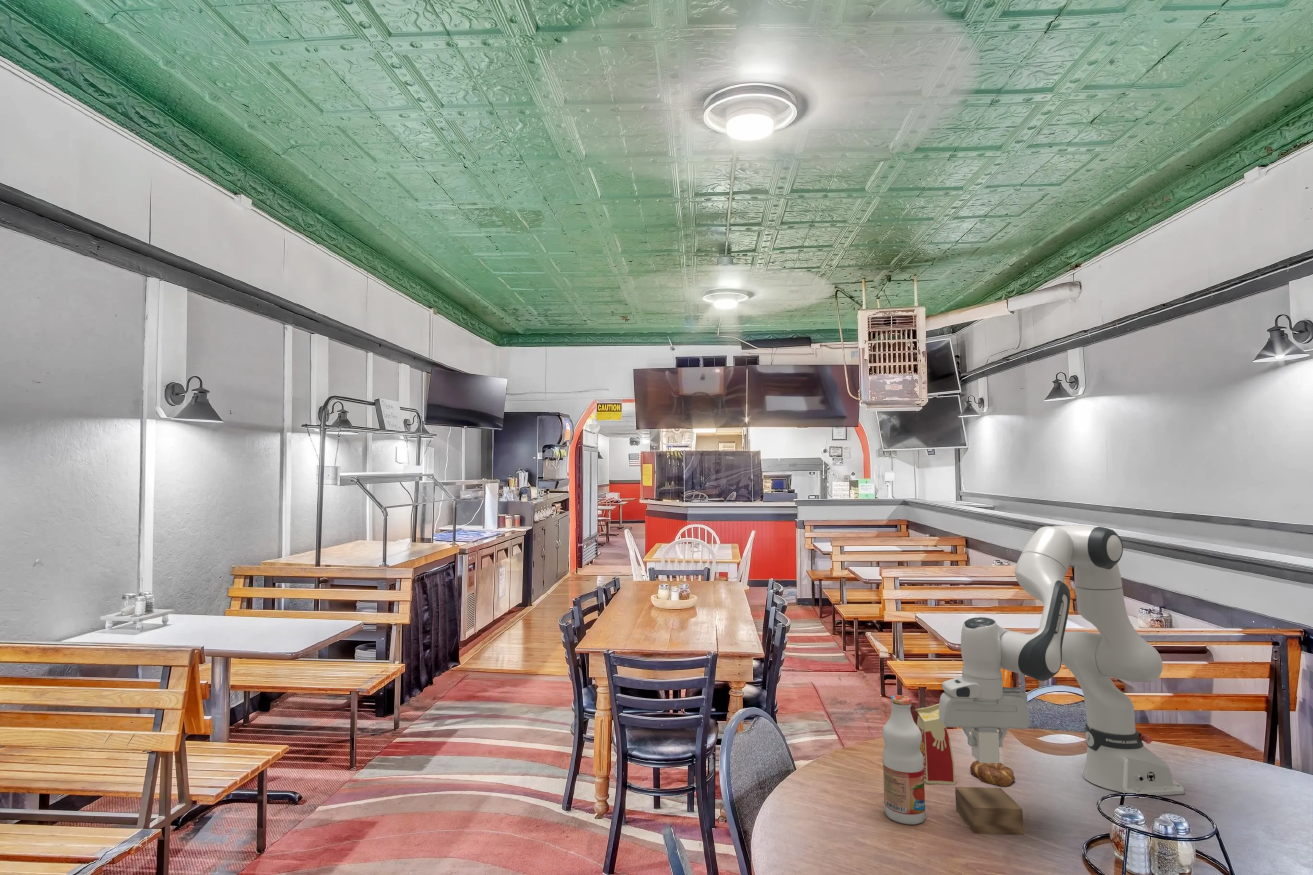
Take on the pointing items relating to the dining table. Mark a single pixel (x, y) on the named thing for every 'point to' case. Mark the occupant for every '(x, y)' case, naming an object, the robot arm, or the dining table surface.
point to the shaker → (986, 744)
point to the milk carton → (935, 747)
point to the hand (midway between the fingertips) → (985, 745)
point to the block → (989, 811)
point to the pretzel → (993, 773)
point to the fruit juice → (903, 765)
